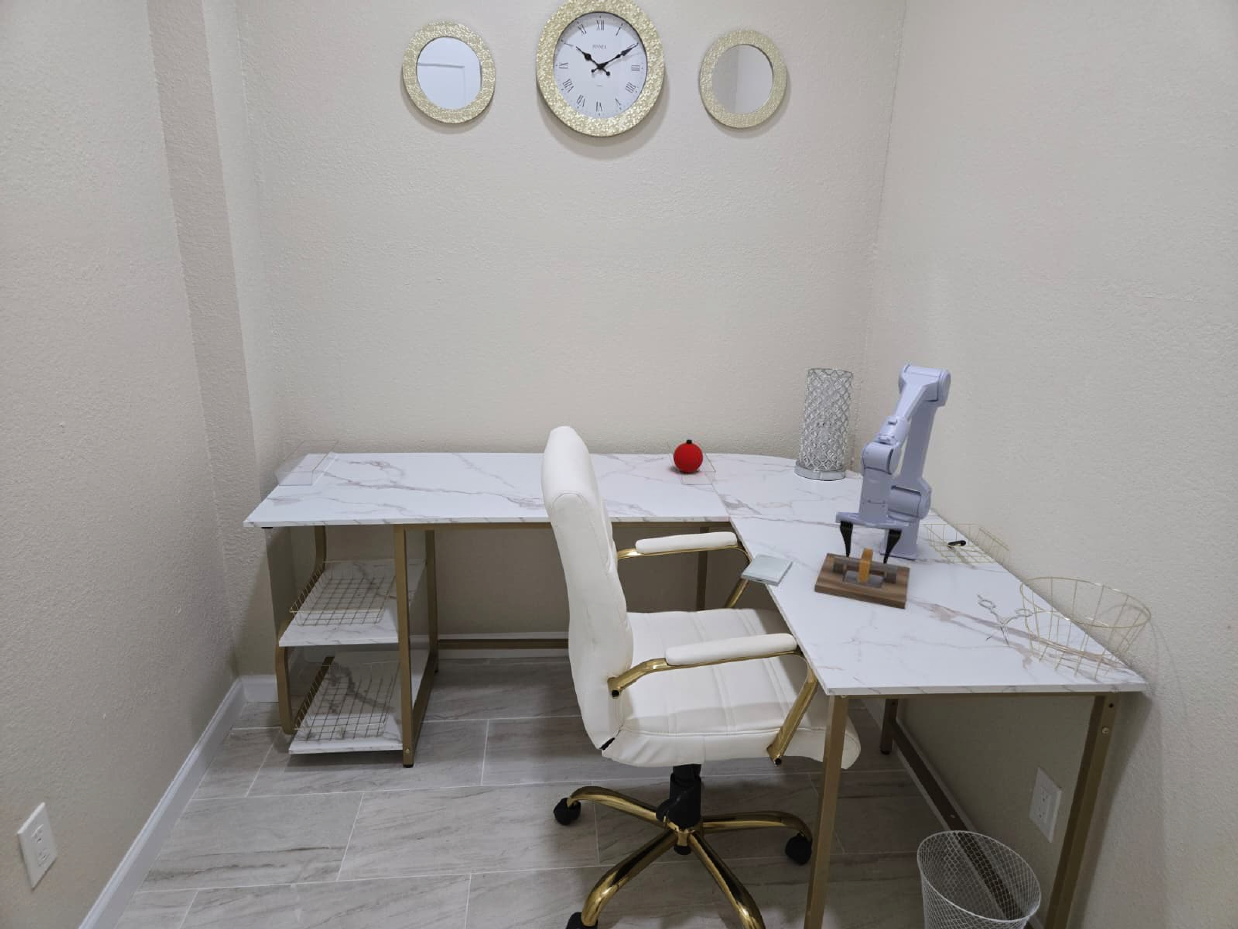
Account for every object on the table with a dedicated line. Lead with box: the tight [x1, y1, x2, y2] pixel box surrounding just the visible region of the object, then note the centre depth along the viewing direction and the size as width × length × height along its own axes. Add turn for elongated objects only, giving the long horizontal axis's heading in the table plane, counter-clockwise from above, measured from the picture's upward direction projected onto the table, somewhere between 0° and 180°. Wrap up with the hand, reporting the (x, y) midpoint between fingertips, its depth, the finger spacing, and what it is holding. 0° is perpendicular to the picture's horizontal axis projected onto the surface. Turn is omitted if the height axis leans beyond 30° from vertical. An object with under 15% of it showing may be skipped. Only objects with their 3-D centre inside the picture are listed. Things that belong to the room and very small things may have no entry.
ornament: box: [672, 438, 704, 473], centre depth 238 cm, size 9×9×10 cm
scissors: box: [977, 594, 1034, 638], centre depth 157 cm, size 11×1×20 cm
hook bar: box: [833, 556, 898, 584], centre depth 170 cm, size 2×13×3 cm, turn 68°
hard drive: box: [740, 553, 794, 587], centre depth 175 cm, size 2×8×12 cm
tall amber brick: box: [857, 547, 874, 583], centre depth 170 cm, size 8×2×4 cm, turn 158°
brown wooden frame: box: [814, 552, 911, 610], centre depth 171 cm, size 18×18×2 cm
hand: (866, 558), depth 170 cm, fingers open, 7 cm apart
